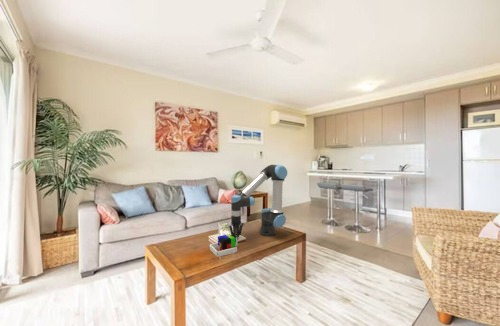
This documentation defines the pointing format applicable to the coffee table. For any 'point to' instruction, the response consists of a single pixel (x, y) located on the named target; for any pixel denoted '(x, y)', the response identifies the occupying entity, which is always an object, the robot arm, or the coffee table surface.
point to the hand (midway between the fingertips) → (235, 244)
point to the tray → (223, 252)
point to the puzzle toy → (226, 242)
